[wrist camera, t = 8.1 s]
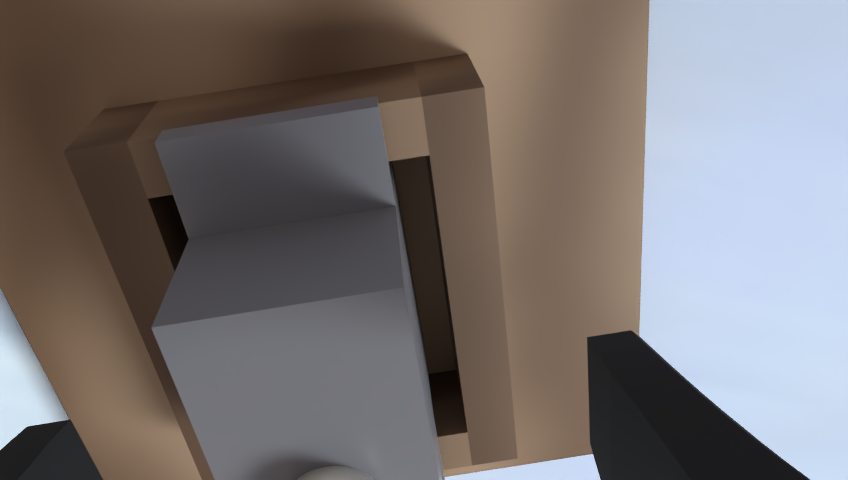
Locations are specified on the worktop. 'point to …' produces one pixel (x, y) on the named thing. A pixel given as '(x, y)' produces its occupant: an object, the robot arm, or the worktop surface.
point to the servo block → (296, 300)
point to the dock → (415, 178)
